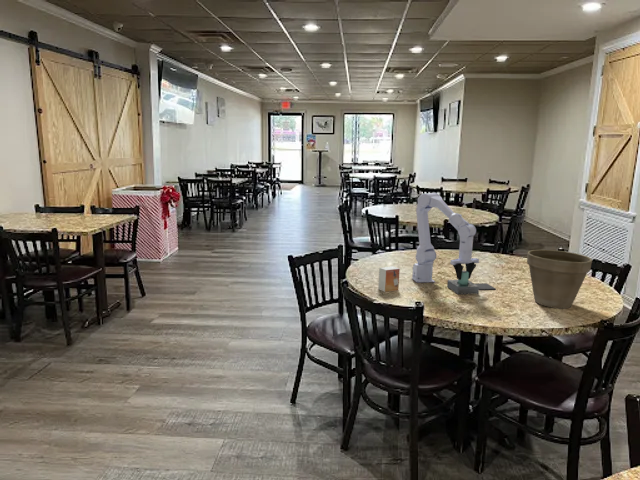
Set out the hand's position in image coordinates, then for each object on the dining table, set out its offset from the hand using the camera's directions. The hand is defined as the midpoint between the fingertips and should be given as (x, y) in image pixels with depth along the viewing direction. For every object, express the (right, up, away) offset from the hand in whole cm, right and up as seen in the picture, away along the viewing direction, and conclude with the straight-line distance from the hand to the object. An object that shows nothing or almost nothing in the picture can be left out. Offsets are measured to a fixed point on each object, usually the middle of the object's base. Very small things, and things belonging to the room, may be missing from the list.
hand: (463, 278), depth 225 cm
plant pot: (+35, -10, -16) cm, 39 cm away
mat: (+11, -5, +7) cm, 14 cm away
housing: (0, -6, +1) cm, 6 cm away
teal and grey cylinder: (0, -4, +1) cm, 4 cm away
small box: (-35, -5, 0) cm, 36 cm away
